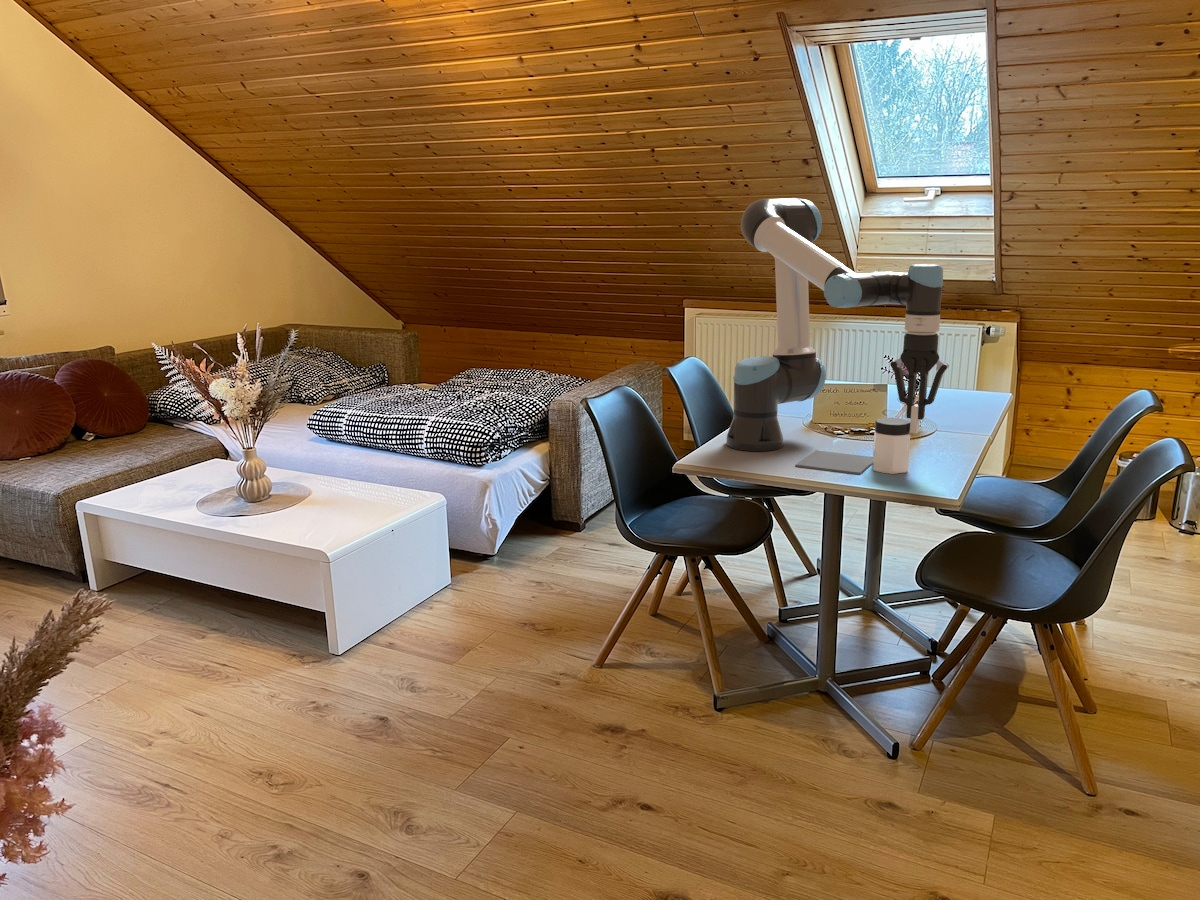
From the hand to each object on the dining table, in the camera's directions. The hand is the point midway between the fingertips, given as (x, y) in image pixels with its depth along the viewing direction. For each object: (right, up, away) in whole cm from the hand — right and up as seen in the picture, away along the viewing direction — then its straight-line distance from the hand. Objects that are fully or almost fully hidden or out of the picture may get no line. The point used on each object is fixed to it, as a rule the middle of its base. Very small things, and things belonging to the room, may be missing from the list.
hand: (914, 432), depth 213 cm
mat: (-15, -7, +11) cm, 20 cm away
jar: (-4, -9, +5) cm, 11 cm away
